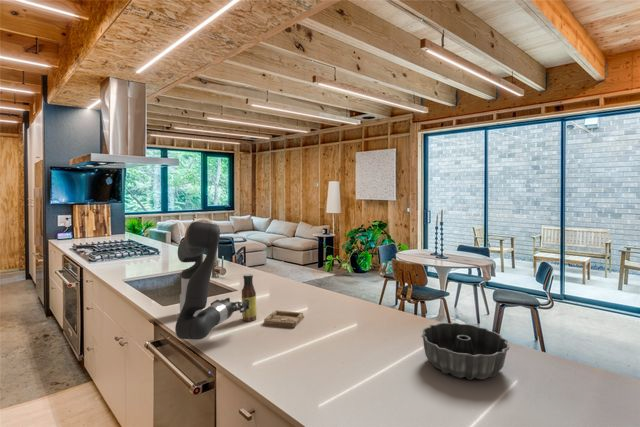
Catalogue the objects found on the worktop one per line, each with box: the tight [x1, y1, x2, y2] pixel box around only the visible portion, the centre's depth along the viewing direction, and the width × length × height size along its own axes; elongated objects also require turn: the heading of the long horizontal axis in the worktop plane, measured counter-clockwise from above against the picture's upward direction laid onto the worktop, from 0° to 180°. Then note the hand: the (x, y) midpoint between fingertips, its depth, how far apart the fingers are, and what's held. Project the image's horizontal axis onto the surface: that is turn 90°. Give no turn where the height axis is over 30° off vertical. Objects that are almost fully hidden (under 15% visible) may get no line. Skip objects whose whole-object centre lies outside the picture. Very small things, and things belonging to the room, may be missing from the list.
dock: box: [262, 310, 305, 329], centre depth 162 cm, size 14×14×2 cm
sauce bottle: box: [241, 273, 257, 322], centre depth 163 cm, size 6×6×20 cm
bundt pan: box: [421, 322, 510, 381], centre depth 120 cm, size 26×26×10 cm
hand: (238, 300), depth 153 cm, fingers open, 8 cm apart
